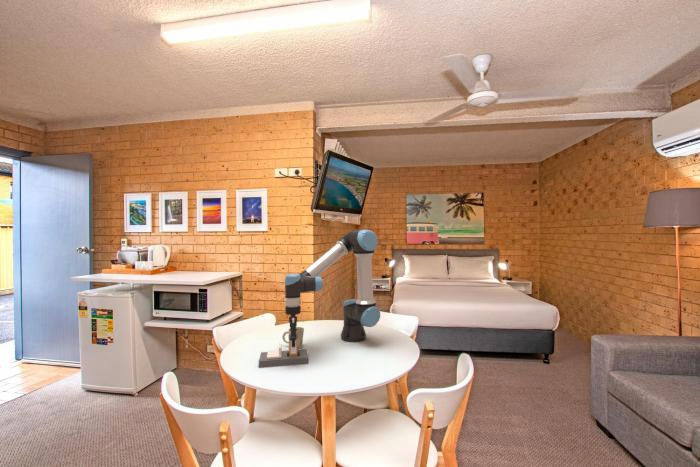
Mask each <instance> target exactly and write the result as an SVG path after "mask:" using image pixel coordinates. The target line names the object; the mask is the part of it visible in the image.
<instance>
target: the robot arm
mask: <svg viewBox="0 0 700 467" xmlns="http://www.w3.org/2000/svg"><path fill="white" fill-rule="evenodd" d="M378 241H379V240H378V237H377V235H376V233H375V232H374V231H372V230H369V229H354V230H350V231H348V232H346V233H345V234H344V235H343V236H342V237H340V238H339V239H337V241H336V243H335V245H333V246H332V247H330V248H329V249H328V250H327V251H326V252H325V253H324V254H322V255H321V256H320V257H319V258H317V259H316V260H315V261H314V262H313V263H311V264H310V265H309V266H308V267H307V268H305V269H304V270H303V271H301V272H300V273H289V274H286V275H285V276H284V277H285V278H284V295H285V296H284V300H283V301H284V302H285V303H284V304H285V307H284V308H285V310H284V313H285V315H287V316H288V322H289V329H290V328H291V329H290V334H291V338H290V339H289V338H288V341H289V340H291V354H295V353H296V331H297V328H296V327H298V326H297V325H298V324H297V322H298V316H296V315H299V314H301V300H302V299H301V297H302V296H301V294H302V293H311V292H312V293H313V292H320V291H322V290H323V287H324V280H323V278H322V277H321V276H320V275H321V274H322V273H324V272H325V271H326V270H327V269H329V267H331V266H332V265H333V264H334V263H336V262H337V261H338V260H340V258H342V257H343V256H344V255H348V254H349V253H350V252H352V251H353V255H354V256H355V257H356V280H357V298H353V299H352V298H351V299H346V300H344V301H343V306H342V308H343V326H342V330H341V332H340V340H342V341H344V342H351V343H355V342H356V341H358V342H362V340H363V341H365V340H366V339H367V333H366V330H365V327H367V328H372V327H375V326H376V325H377V324H378V322H380V319H381V311H380V309H379V308H378V307H377V301H376V300H375V299H374V288H373V285H374V284H373V259H372V257H373V255H374V254H375V250H376V247H378V243H379V242H378ZM364 339H365V340H364ZM356 343H357V342H356Z"/></svg>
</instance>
